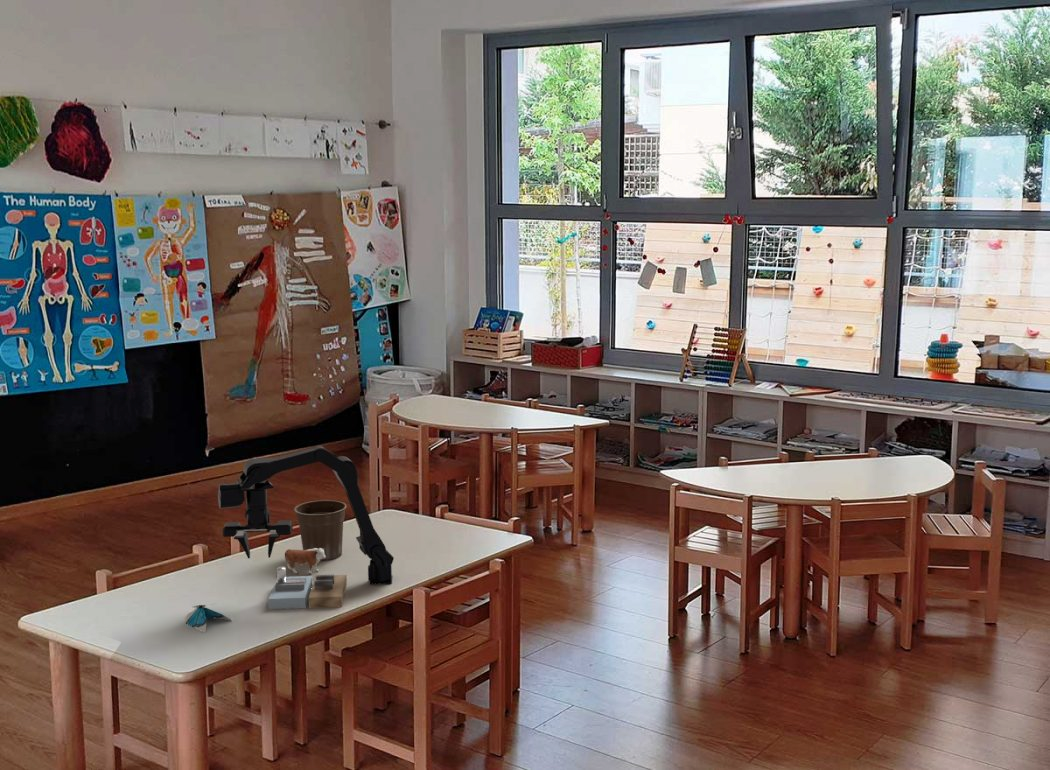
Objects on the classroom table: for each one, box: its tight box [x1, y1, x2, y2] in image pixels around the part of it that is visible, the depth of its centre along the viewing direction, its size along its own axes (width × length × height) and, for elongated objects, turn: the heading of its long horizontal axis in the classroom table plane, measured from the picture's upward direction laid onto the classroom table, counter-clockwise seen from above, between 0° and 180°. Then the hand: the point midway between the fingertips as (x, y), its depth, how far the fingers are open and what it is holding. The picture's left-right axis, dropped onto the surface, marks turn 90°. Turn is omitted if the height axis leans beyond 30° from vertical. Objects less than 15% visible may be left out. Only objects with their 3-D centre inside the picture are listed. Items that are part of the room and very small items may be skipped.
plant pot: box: [293, 499, 347, 562], centre depth 345 cm, size 16×16×16 cm
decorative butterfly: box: [184, 603, 232, 633], centre depth 291 cm, size 10×6×10 cm
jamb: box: [308, 574, 348, 609], centre depth 310 cm, size 9×18×5 cm, turn 5°
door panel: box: [267, 575, 313, 610], centre depth 309 cm, size 10×18×5 cm, turn 5°
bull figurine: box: [284, 548, 326, 574], centre depth 330 cm, size 4×13×8 cm, turn 79°
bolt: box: [275, 566, 306, 587], centre depth 309 cm, size 8×2×6 cm, turn 95°
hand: (259, 557), depth 307 cm, fingers open, 5 cm apart
